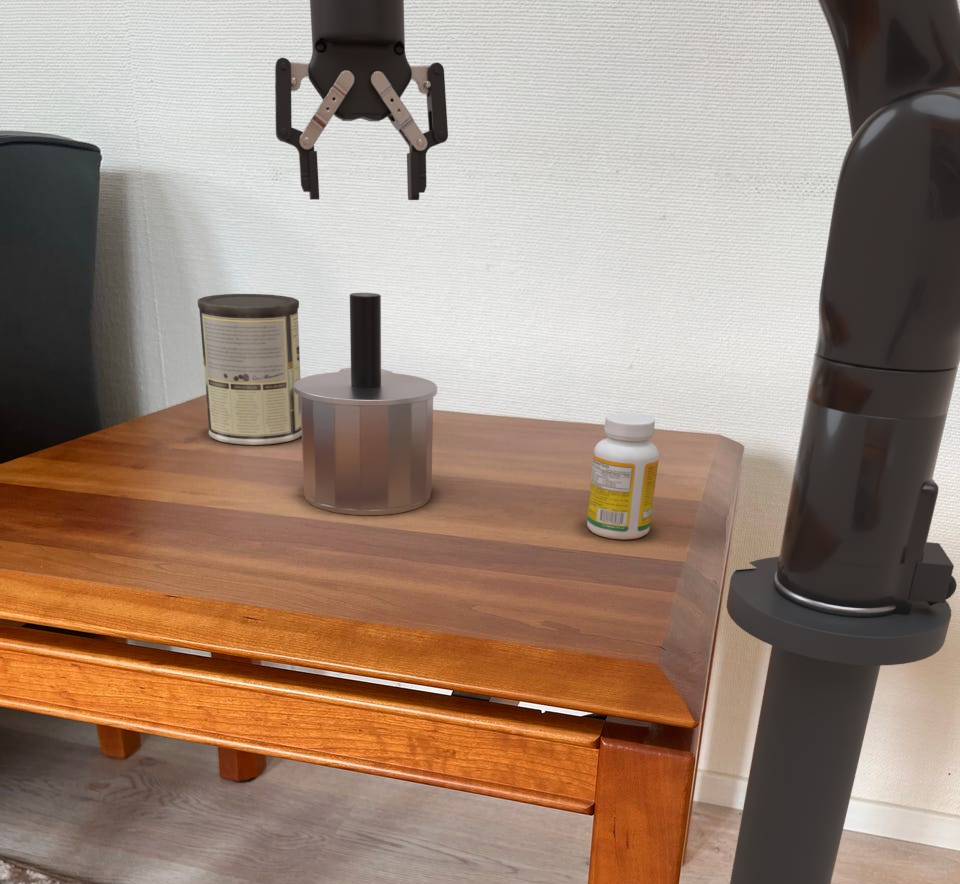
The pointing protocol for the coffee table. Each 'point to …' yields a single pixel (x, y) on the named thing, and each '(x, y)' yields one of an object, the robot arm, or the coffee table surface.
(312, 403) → the canister
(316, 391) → the canister lid
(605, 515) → the supplement bottle
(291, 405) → the coffee can
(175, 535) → the coffee table surface
